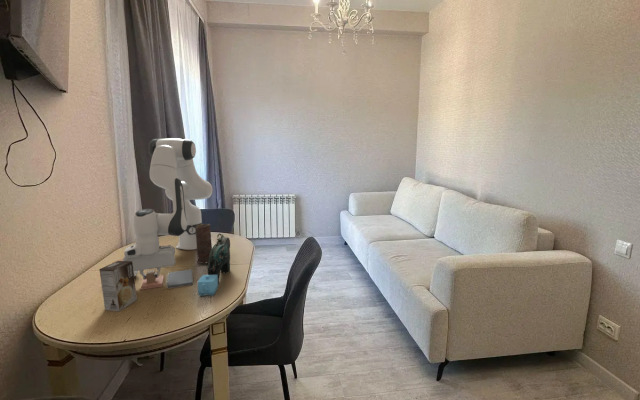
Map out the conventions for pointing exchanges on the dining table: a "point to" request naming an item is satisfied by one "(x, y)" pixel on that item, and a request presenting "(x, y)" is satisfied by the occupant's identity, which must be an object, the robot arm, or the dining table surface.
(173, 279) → the grey ring notebook
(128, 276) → the coffee box
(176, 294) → the dining table surface
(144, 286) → the light switch
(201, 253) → the candle
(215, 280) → the teapot
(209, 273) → the teal spotted shape
